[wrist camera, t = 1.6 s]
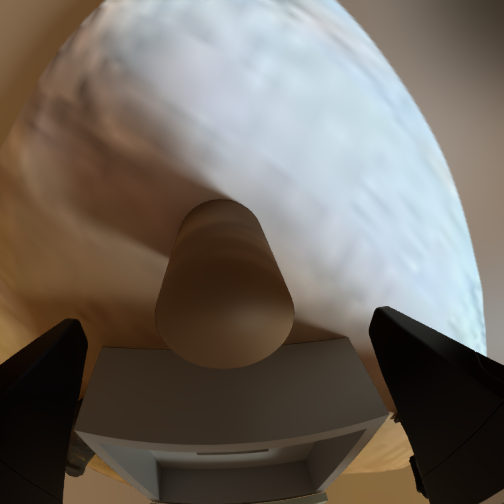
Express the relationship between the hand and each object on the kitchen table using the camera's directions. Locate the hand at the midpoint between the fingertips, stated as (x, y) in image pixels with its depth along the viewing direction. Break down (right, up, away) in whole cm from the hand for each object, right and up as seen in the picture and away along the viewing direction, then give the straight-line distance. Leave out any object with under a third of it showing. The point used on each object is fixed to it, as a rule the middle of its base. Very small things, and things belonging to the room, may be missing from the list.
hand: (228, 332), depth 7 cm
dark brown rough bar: (-17, -18, +14) cm, 28 cm away
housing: (-1, -11, +12) cm, 16 cm away
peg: (-1, +3, +6) cm, 6 cm away
